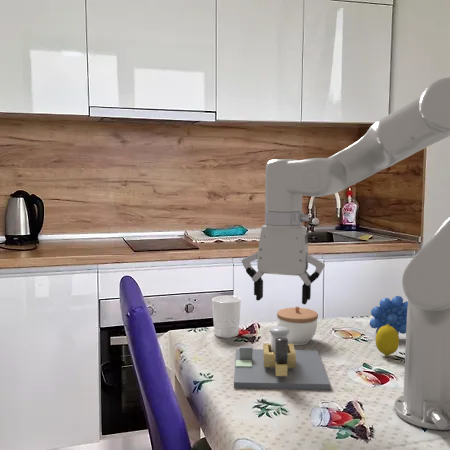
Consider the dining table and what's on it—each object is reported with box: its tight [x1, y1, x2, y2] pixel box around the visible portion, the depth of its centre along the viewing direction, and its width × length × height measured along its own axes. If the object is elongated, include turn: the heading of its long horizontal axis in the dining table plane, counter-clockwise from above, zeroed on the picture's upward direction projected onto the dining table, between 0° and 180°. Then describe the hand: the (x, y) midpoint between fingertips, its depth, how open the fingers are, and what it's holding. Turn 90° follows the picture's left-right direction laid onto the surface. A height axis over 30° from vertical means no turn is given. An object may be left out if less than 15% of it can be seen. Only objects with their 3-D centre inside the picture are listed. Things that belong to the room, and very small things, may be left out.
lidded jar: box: [276, 306, 319, 346], centre depth 137 cm, size 11×11×9 cm
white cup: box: [211, 294, 242, 339], centre depth 142 cm, size 8×8×10 cm
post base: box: [233, 325, 331, 391], centre depth 117 cm, size 20×20×10 cm
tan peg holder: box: [262, 337, 296, 376], centre depth 114 cm, size 13×7×8 cm, turn 177°
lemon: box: [374, 324, 400, 357], centre depth 126 cm, size 6×6×8 cm
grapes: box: [369, 295, 408, 335], centre depth 139 cm, size 12×7×12 cm, turn 72°
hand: (281, 300), depth 108 cm, fingers open, 9 cm apart
